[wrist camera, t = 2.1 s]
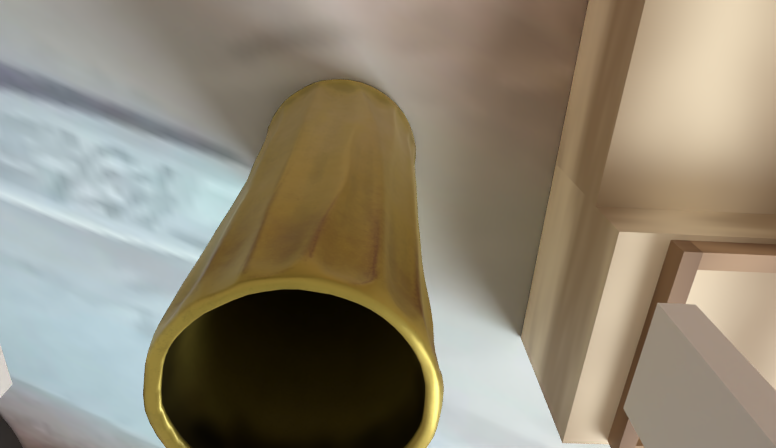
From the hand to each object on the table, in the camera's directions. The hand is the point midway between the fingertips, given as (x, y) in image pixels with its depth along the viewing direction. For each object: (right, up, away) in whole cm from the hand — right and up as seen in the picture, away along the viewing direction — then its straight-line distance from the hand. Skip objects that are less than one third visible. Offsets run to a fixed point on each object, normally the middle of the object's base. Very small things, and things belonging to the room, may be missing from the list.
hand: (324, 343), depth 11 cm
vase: (-1, +5, +12) cm, 13 cm away
